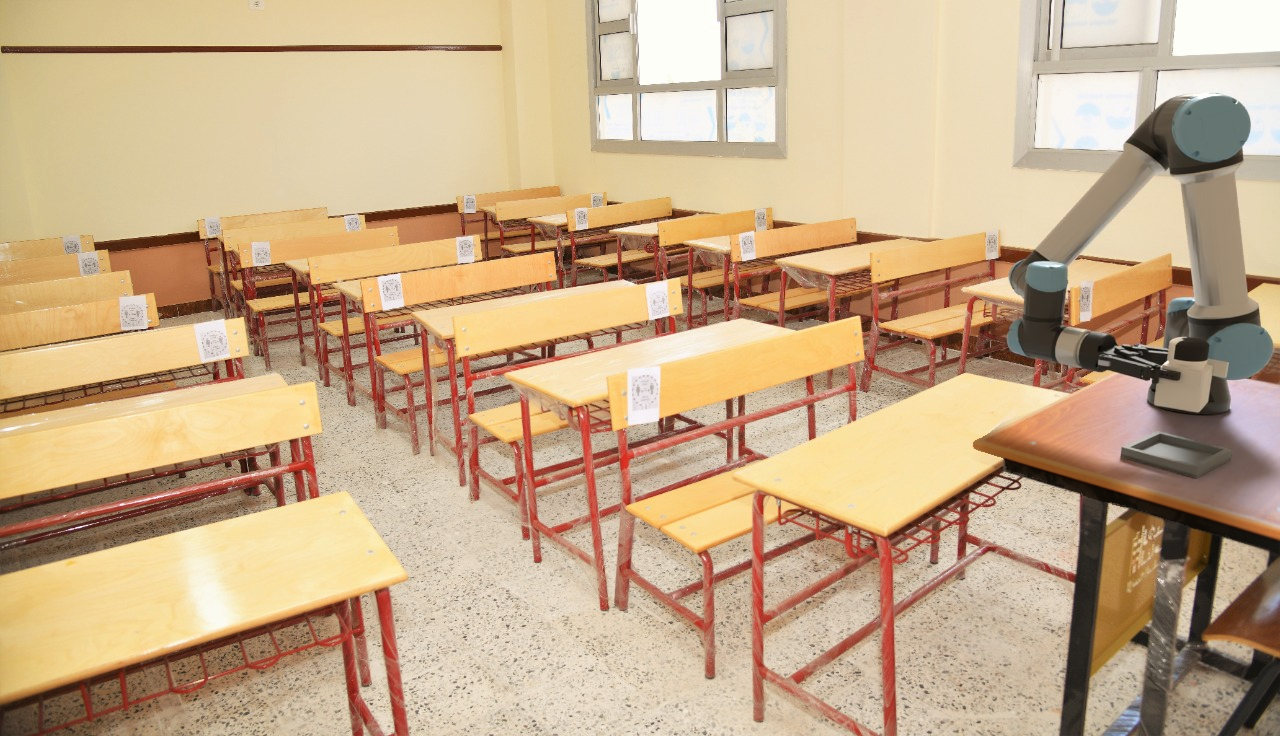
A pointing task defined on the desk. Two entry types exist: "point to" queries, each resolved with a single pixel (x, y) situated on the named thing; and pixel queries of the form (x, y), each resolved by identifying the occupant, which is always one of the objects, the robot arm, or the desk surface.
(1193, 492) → the desk surface
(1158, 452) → the bottle tray
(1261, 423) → the desk surface
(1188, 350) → the medicine bottle
